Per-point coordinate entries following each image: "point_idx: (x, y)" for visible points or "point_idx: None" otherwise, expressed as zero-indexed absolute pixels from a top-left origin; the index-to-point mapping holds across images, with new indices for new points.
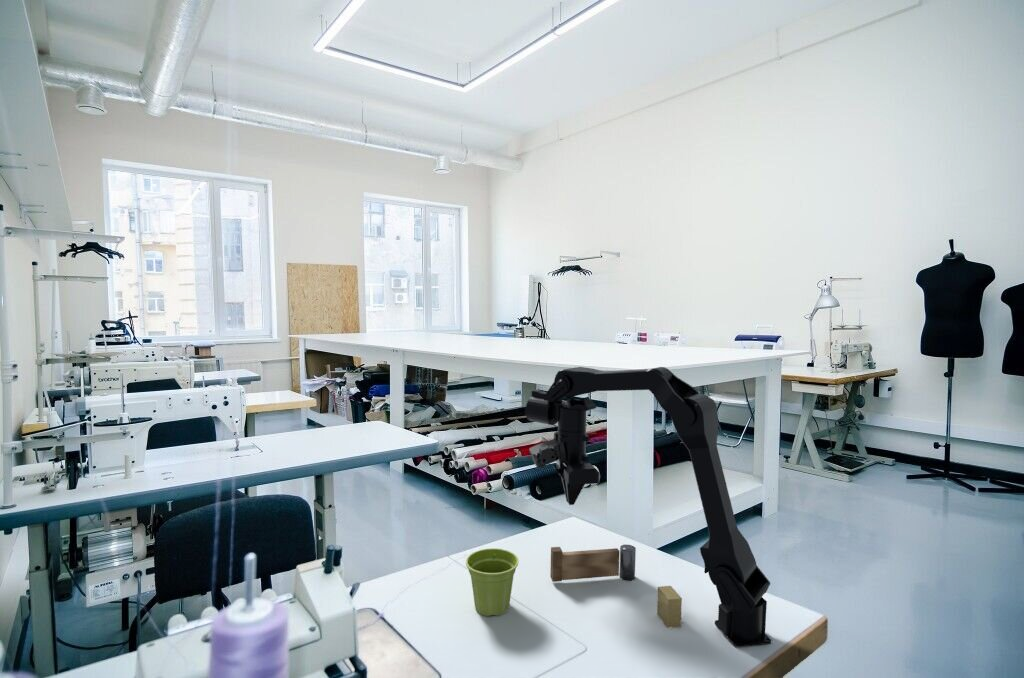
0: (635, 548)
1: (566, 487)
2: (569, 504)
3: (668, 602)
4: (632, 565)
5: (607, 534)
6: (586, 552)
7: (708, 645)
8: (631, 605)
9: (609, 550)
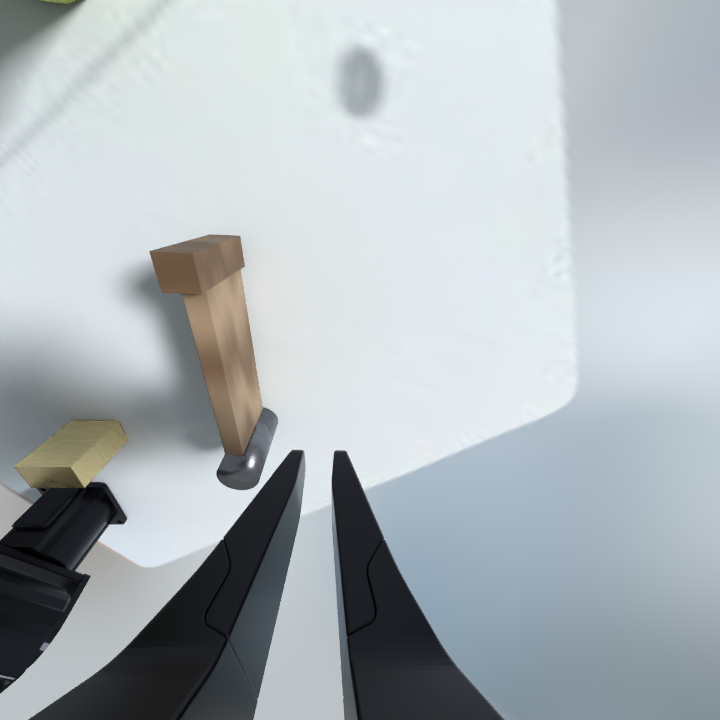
0: (236, 488)
1: (237, 565)
2: (292, 451)
3: (20, 461)
4: None
5: (461, 445)
6: (211, 374)
7: None
8: (143, 390)
9: (228, 435)
